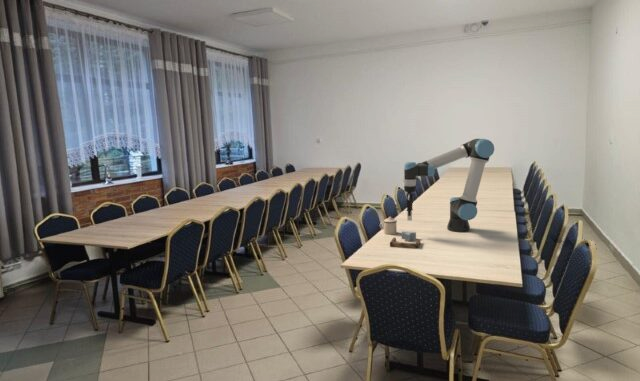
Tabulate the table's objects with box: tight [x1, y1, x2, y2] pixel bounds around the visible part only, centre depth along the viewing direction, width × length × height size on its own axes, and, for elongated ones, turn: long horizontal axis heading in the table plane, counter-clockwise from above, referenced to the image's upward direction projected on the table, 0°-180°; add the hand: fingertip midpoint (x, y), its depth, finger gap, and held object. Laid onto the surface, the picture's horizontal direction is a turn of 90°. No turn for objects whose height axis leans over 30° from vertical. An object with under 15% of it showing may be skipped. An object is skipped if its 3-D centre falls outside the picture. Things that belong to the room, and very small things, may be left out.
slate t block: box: [401, 230, 417, 242], centre depth 263 cm, size 9×8×4 cm
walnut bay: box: [389, 237, 421, 249], centre depth 252 cm, size 17×12×2 cm
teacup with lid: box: [379, 216, 398, 235], centre depth 281 cm, size 12×9×12 cm
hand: (409, 220), depth 270 cm, fingers closed
